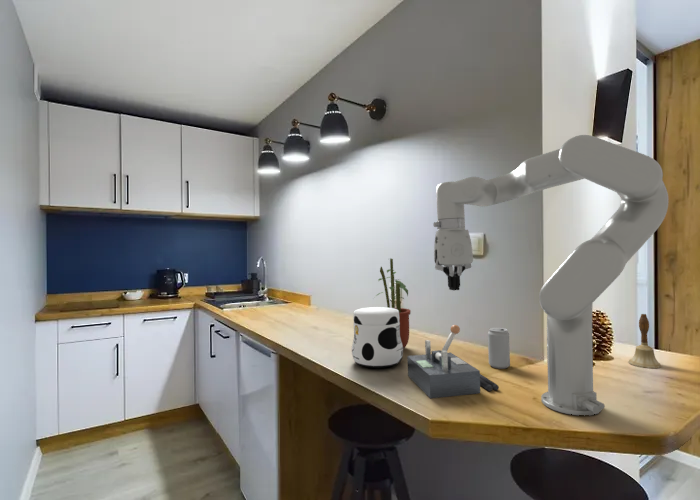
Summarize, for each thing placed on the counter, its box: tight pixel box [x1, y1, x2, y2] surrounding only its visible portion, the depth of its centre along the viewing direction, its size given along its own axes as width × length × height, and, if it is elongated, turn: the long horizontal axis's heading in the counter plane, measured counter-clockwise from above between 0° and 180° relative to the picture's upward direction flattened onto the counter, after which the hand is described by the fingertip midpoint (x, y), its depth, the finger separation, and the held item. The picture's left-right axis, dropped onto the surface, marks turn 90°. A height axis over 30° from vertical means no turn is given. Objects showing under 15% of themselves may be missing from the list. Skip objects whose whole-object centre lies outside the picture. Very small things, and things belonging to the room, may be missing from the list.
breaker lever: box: [435, 324, 461, 361], centre depth 110 cm, size 4×3×11 cm, turn 10°
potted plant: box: [372, 257, 412, 350], centre depth 149 cm, size 17×16×35 cm
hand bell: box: [628, 313, 662, 370], centre depth 121 cm, size 8×8×16 cm
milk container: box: [351, 306, 404, 369], centre depth 130 cm, size 17×17×18 cm
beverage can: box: [487, 327, 511, 370], centre depth 123 cm, size 6×6×12 cm
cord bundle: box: [480, 373, 499, 392], centre depth 111 cm, size 18×3×2 cm, turn 10°
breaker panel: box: [407, 339, 481, 399], centre depth 109 cm, size 18×14×11 cm
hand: (454, 289), depth 110 cm, fingers closed
